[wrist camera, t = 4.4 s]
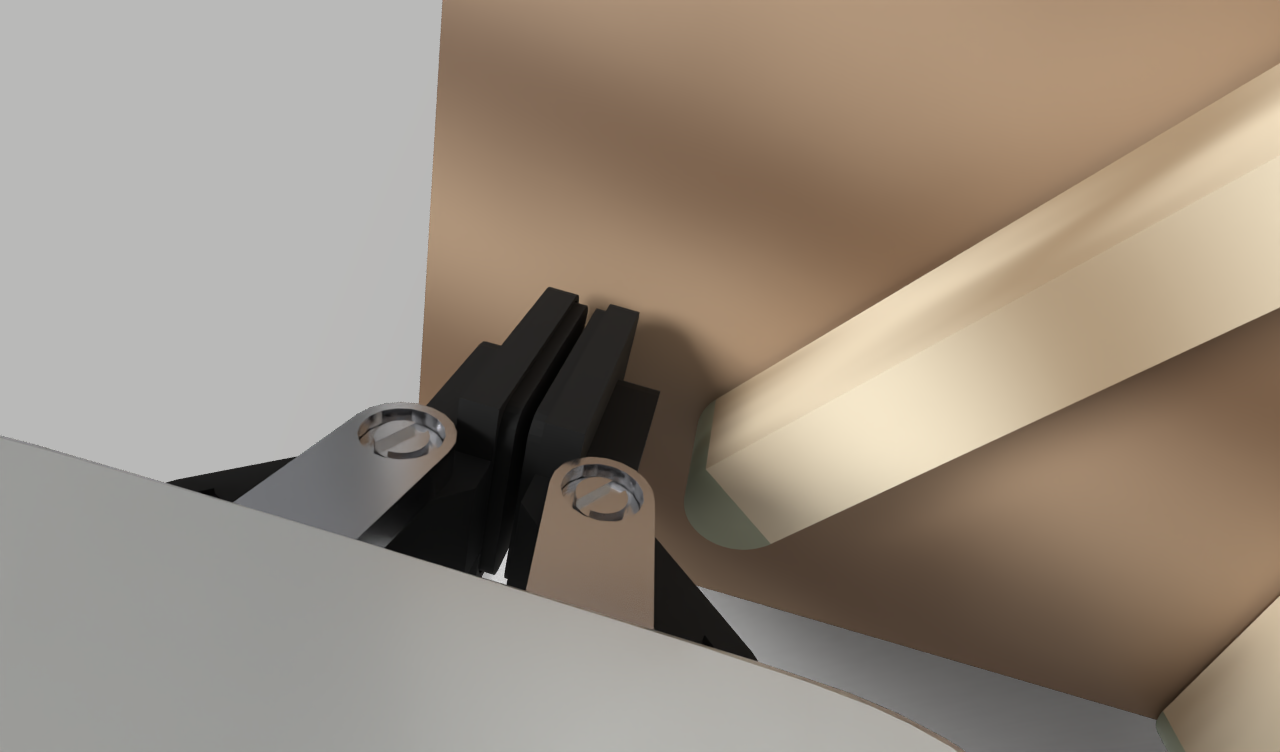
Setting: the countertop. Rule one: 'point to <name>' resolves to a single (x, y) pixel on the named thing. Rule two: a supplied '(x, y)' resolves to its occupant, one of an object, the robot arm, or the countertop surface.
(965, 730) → the countertop surface
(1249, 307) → the tong arm
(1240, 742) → the tongs fixed
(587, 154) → the board
